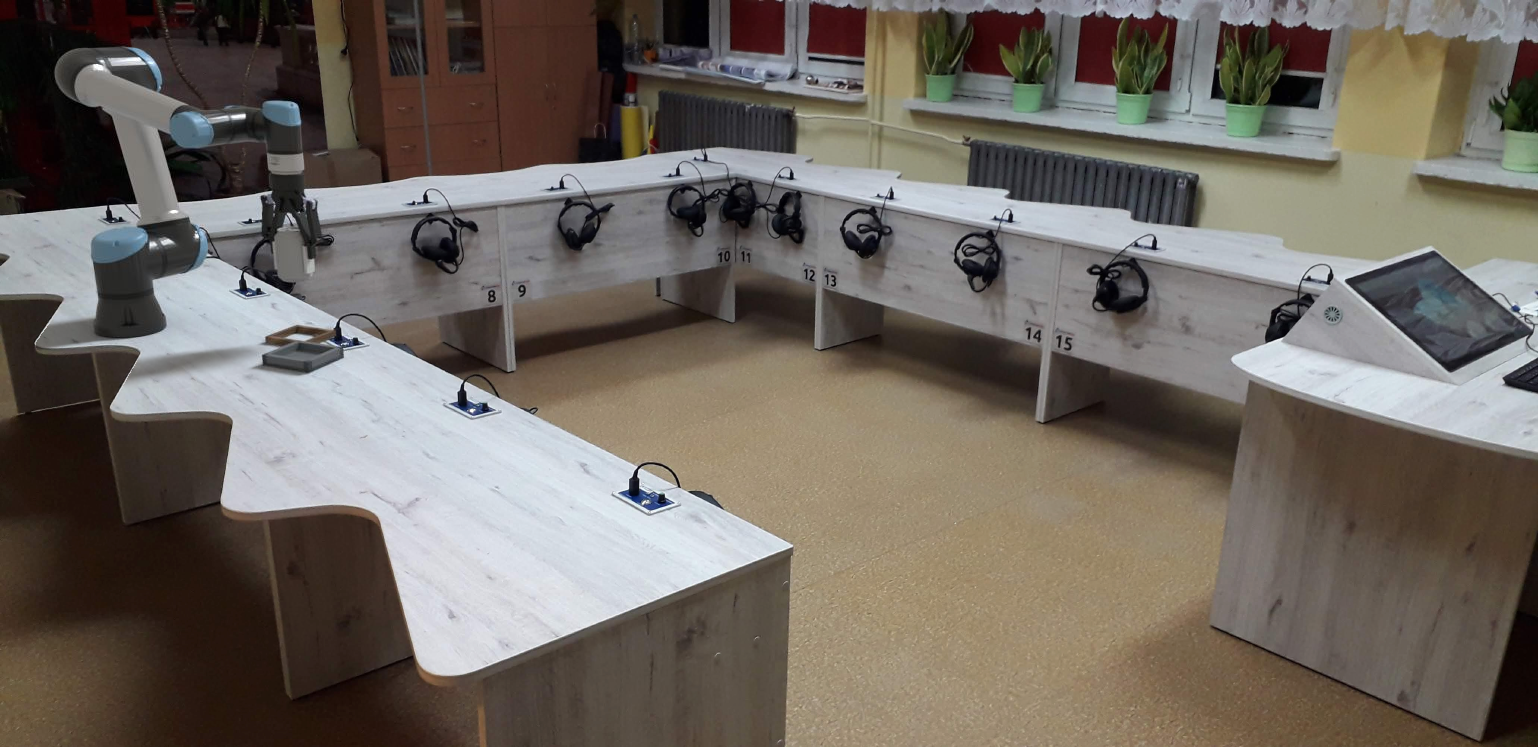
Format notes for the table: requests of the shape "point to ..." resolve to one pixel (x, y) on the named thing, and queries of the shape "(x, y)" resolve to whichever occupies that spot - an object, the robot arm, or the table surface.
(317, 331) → the frame
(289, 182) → the robot arm
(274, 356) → the tray
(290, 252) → the can
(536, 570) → the table surface
